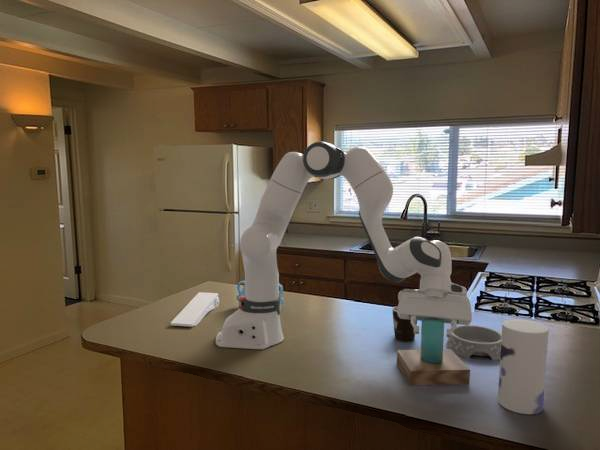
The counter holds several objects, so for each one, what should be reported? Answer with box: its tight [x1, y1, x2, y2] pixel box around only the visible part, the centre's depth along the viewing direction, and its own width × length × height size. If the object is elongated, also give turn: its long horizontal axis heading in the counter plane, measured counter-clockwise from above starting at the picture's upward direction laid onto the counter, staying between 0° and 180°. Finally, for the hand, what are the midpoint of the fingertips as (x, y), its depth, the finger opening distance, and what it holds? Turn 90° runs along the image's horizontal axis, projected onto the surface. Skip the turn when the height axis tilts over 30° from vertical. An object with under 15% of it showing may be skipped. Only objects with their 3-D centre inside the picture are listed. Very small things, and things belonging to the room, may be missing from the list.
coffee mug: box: [391, 305, 418, 343], centre depth 159 cm, size 12×9×10 cm
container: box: [497, 318, 550, 415], centre depth 114 cm, size 10×10×20 cm
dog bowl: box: [445, 324, 502, 361], centre depth 149 cm, size 17×18×5 cm
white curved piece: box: [169, 291, 220, 328], centre depth 182 cm, size 10×7×28 cm
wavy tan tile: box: [396, 348, 471, 386], centre depth 132 cm, size 16×14×4 cm
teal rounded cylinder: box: [420, 318, 445, 364], centre depth 131 cm, size 6×6×11 cm
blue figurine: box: [236, 280, 285, 305], centre depth 189 cm, size 16×16×14 cm
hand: (432, 334), depth 130 cm, fingers open, 7 cm apart
